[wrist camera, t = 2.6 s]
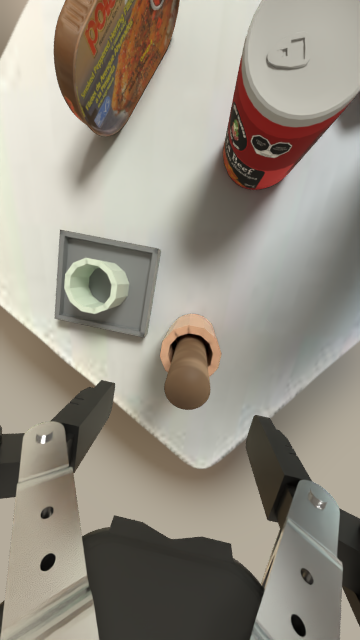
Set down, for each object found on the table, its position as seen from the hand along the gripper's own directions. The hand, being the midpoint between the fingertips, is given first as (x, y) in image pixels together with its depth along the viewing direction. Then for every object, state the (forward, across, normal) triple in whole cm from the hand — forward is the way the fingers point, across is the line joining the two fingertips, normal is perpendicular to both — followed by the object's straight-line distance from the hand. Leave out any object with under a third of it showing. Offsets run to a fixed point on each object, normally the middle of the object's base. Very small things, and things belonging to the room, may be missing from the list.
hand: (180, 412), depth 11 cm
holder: (+15, +12, -4) cm, 20 cm away
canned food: (+16, -3, -22) cm, 28 cm away
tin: (+17, +12, -27) cm, 34 cm away
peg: (+16, 0, 0) cm, 16 cm away
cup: (+16, 0, 0) cm, 16 cm away
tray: (+16, +12, -4) cm, 21 cm away
